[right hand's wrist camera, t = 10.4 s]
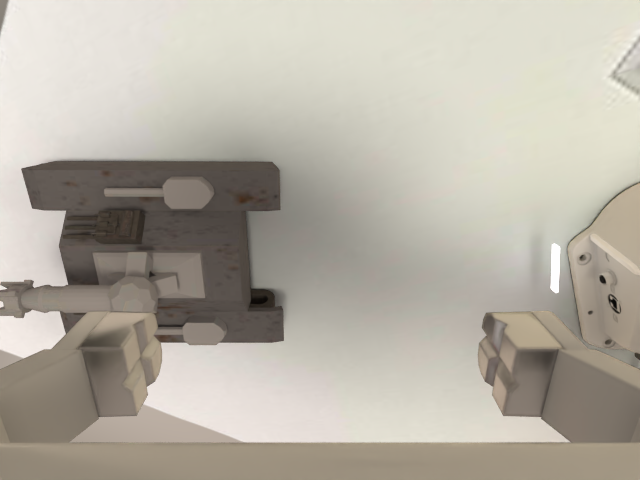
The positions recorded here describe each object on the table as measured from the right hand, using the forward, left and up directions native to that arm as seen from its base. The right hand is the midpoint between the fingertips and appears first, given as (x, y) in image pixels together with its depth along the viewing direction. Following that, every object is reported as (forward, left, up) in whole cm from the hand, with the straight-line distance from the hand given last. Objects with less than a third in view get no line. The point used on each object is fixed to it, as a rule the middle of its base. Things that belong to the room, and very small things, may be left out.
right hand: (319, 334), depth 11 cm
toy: (-10, +19, -37) cm, 43 cm away
